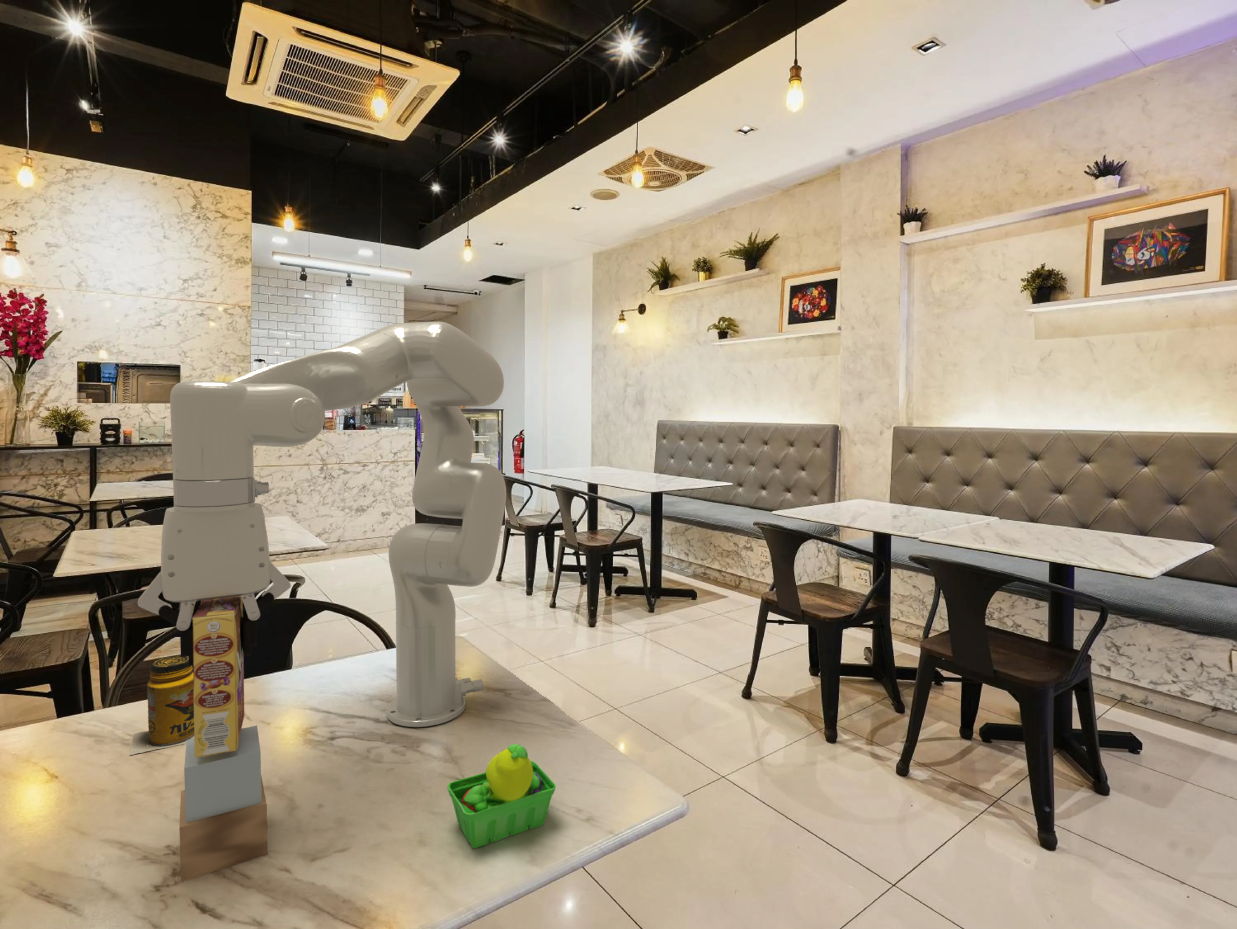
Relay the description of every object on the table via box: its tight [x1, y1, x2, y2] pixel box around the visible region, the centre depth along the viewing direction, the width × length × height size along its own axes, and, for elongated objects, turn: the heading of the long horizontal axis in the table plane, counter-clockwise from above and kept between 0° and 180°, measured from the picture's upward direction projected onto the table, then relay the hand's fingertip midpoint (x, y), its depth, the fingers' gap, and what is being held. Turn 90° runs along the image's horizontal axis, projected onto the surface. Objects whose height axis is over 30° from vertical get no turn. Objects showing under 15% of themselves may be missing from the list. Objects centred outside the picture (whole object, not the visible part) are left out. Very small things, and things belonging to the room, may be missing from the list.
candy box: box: [192, 596, 245, 758], centre depth 72 cm, size 9×4×15 cm, turn 26°
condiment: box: [129, 654, 194, 756], centre depth 97 cm, size 7×8×12 cm
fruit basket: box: [446, 743, 557, 849], centre depth 76 cm, size 11×9×11 cm
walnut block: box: [179, 775, 269, 882], centre depth 73 cm, size 8×8×6 cm
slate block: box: [183, 725, 262, 823], centre depth 72 cm, size 7×7×6 cm
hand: (220, 655), depth 71 cm, fingers closed on candy box, 4 cm apart
